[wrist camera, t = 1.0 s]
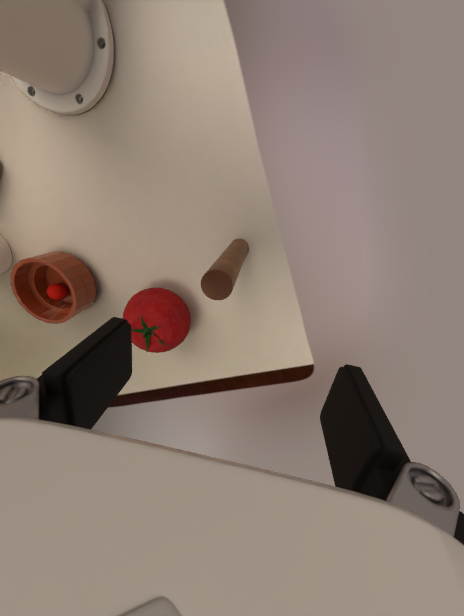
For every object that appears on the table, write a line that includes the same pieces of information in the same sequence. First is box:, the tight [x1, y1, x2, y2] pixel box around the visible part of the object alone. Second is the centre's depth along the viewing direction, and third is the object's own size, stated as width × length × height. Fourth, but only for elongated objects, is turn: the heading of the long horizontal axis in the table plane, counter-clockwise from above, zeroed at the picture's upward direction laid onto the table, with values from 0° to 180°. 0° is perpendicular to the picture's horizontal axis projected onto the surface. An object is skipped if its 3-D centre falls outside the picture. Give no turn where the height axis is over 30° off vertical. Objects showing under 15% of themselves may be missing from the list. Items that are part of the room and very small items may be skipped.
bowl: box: [11, 252, 96, 324], centre depth 36 cm, size 9×9×5 cm
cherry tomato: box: [47, 283, 67, 300], centre depth 36 cm, size 2×2×2 cm
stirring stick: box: [201, 239, 249, 300], centre depth 26 cm, size 2×2×15 cm
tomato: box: [123, 288, 190, 353], centre depth 34 cm, size 9×9×8 cm
